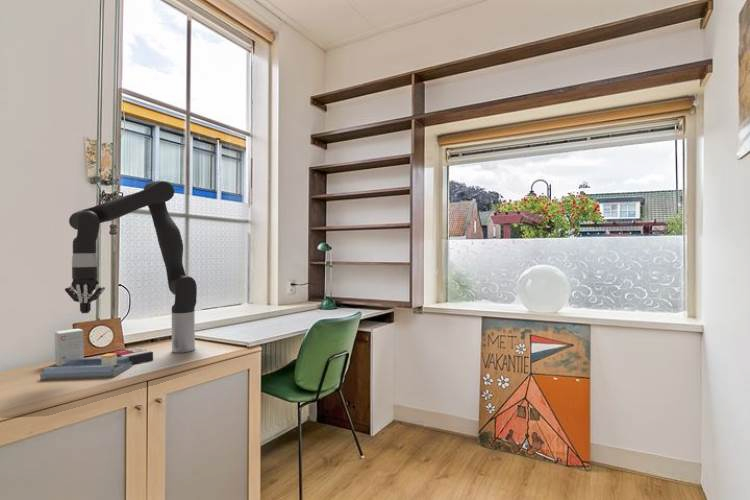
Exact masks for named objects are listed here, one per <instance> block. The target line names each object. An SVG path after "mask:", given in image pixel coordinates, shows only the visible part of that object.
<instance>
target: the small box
mask: <svg viewBox="0 0 750 500" xmlns="http://www.w3.org/2000/svg"><path fill="white" fill-rule="evenodd" d="M84 345H85V344H84V330H83V329H81V328H72V329H64V330H58V331H57V330H56V331H54V355H55V356H54V358H55V360H54V362H55V365H56V366H57V367H58V366H60V365H63V364H65V360H66V359H72V358H85V356H84V355H85V354H84V352H85V349H84V348H85V347H84Z"/></svg>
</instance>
